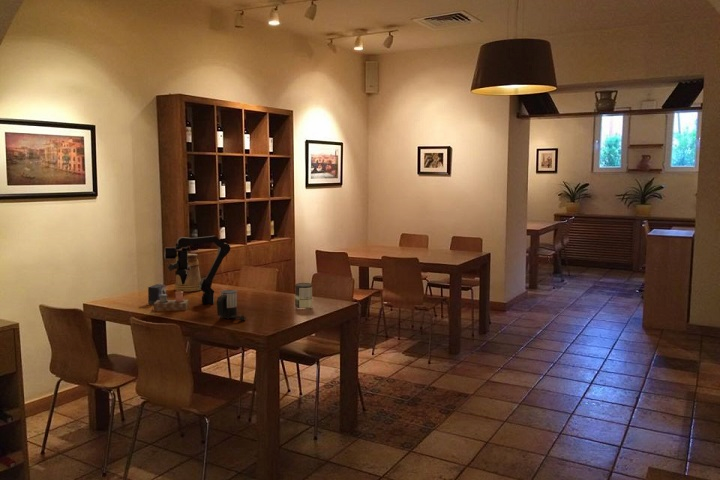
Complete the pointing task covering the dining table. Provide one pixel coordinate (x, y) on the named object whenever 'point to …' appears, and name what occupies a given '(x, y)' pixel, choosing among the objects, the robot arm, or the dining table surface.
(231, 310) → the milk frother
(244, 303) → the dining table surface
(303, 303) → the coffee can
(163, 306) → the socket block
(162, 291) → the small box
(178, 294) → the brick plug
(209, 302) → the robot arm
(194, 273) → the tankard
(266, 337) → the dining table surface
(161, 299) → the grey plug
